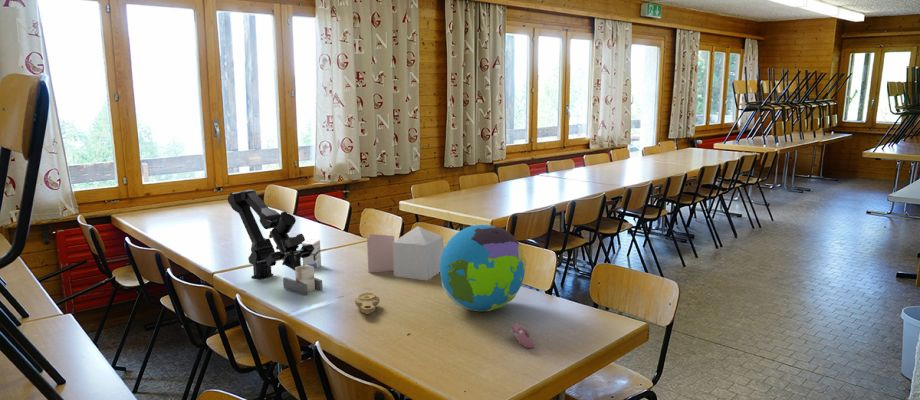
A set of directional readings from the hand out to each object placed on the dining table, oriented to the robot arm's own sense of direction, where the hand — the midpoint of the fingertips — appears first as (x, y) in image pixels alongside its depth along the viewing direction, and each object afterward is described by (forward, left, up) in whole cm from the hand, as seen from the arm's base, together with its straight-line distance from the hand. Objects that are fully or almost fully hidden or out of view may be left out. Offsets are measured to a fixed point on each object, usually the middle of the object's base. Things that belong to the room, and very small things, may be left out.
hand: (300, 272), depth 235 cm
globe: (+72, +6, -7) cm, 72 cm away
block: (+3, -1, -6) cm, 7 cm away
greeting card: (+16, +34, -7) cm, 38 cm away
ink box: (-14, +28, -7) cm, 32 cm away
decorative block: (+33, +37, -8) cm, 50 cm away
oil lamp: (+35, -9, -8) cm, 37 cm away
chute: (+1, 0, -7) cm, 7 cm away
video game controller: (+93, -17, -8) cm, 94 cm away
